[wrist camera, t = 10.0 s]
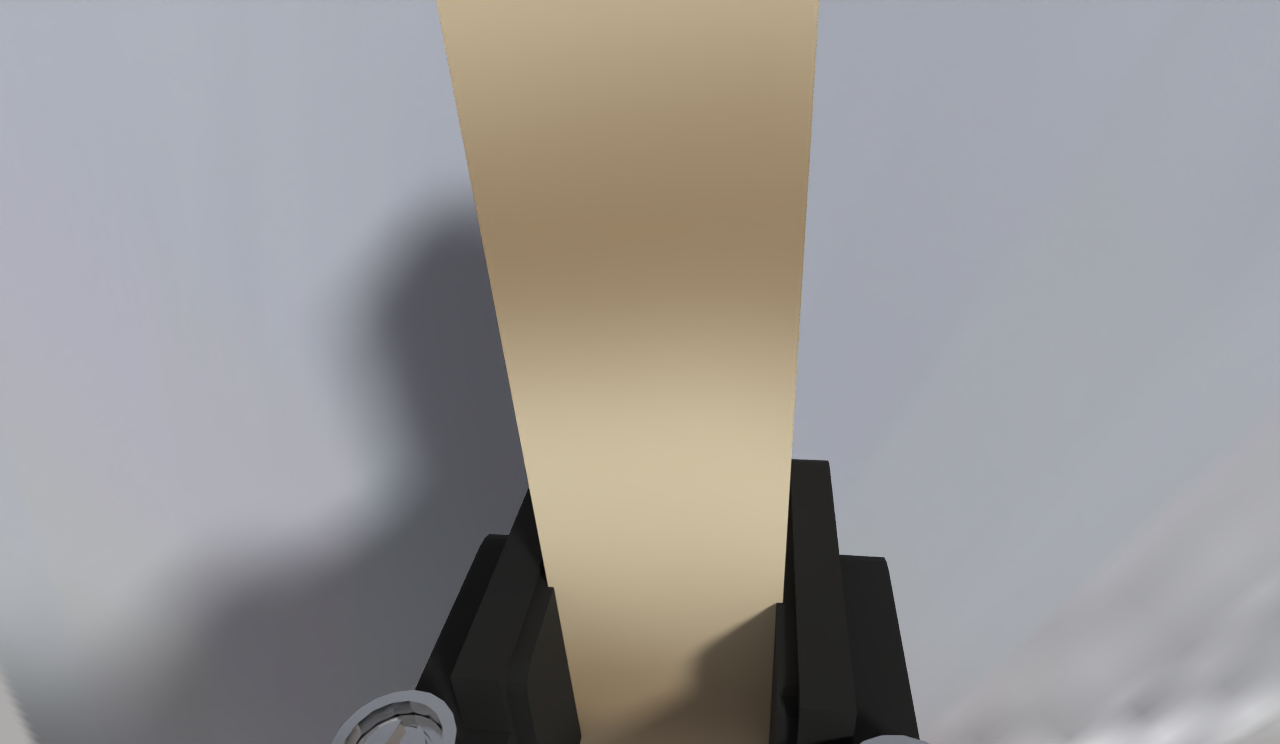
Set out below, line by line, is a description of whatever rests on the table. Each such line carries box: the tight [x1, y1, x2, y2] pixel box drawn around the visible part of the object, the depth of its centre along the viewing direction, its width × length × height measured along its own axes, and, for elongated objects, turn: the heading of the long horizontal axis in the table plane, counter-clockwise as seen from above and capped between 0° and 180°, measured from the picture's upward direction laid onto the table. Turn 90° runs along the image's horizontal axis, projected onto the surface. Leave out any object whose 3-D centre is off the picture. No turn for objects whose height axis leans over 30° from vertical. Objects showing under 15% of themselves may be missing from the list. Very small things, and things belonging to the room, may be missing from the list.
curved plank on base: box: [436, 0, 819, 744], centre depth 11 cm, size 20×7×5 cm, turn 3°
